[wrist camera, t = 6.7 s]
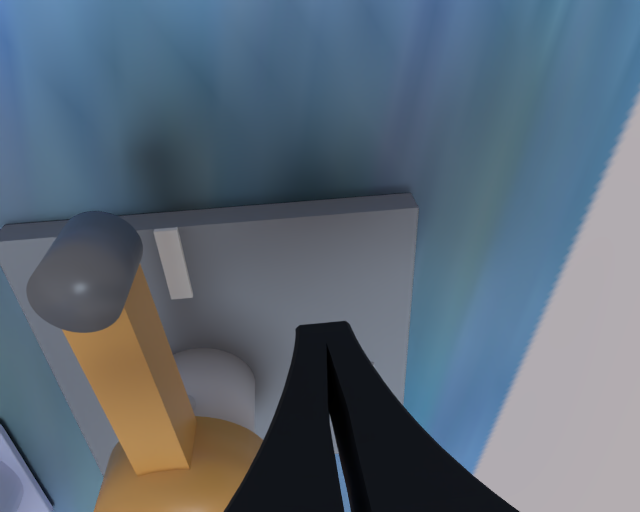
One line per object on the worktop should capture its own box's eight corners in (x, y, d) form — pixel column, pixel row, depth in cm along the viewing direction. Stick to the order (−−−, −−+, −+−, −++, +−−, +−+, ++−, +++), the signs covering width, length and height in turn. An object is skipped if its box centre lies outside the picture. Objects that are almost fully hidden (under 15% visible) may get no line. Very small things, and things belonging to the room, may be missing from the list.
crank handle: (284, 502, 20) (286, 571, 18) (136, 522, 20) (121, 594, 18) (211, 194, 12) (199, 251, 10) (-33, 224, 12) (-96, 288, 10)
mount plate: (110, 457, 26) (81, 559, 22) (4, 224, 18) (-73, 314, 14) (394, 427, 27) (418, 520, 23) (410, 192, 19) (451, 267, 15)
